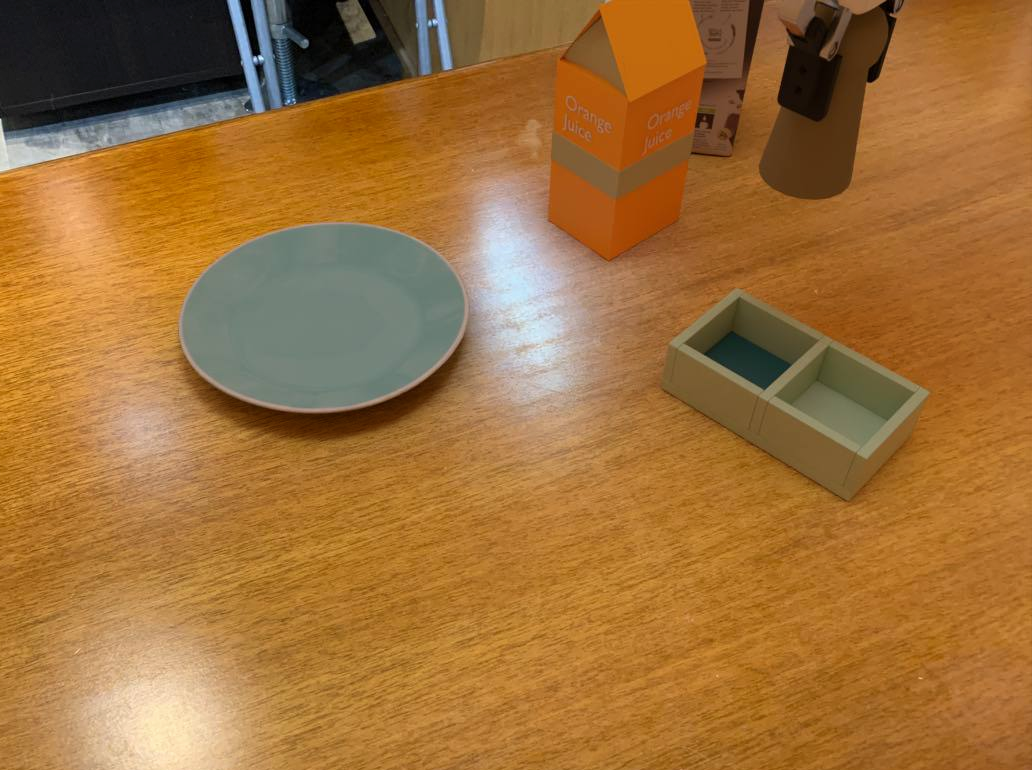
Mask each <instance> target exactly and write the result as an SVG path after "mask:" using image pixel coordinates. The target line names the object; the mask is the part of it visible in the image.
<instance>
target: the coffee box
mask: <svg viewBox="0 0 1032 770" xmlns="http://www.w3.org/2000/svg"><path fill="white" fill-rule="evenodd" d="M689 2H690V5H691V9H692V12H693V16H694V19H695V23H696V26H697V30H698V33H699V37H700V40H701V44H702V47H703V51H704V54H705V58H706V61H707V63H706V65H705V71H704V77H703V82H702V88H701V94H700V100H699V105H698V111H697V117H696V123H695V128H694V131H695V132H694V138H693V144H692V149H691V153H698V154H705V155H713V156H714V155H715V156H723V157H730V156H731V155H732V153H733V149H734V144H735V140H736V136H737V131H738V128H739V127H738V126H739V123H740V122H739V121H740V116H741V113H742V106H743V103H744V98H745V94H746V89H747V83H748V79H749V74H750V70H751V66H752V61H753V56H754V52H755V46H756V42H757V39H758V34H759V28H760V25H761V20H762V14H763V11H764V6H765V5H764V4H765V0H689Z"/></svg>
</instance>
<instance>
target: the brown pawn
mask: <svg viewBox="0 0 1032 770" xmlns="http://www.w3.org/2000/svg"><path fill="white" fill-rule="evenodd" d="M835 11H836V10H835V9H832V8H830V7H827V6H825V5H822V4H820V3H817V6H816V8H815V13H816V14H815V15H816V16H817V17H818V18H821V19H823V21H824V23H825V25H826V27H827V29H829V26H830V24H831V21H832V18H833V16H834V13H835ZM887 38H888V23H887V19H886V16H885V12H884V11H883V10H882V9H881V8H880V7H879V6H876V7H875V8H873V9H871V10H870V11H867V12H865V13H863V14H859V15H856V14H853V13H852V16H851V18H850V21H849V24H848V26H847V29H846V31H845V34H844V36H843V39H842V41H841V44H840V46H839V49H838V51H837V53H836V54H839V55H841V56H843V58H842V62H841V66H840V69H839V73H838V77H837V80H836V84H835V87H834V91H833V95H832V98H831V102H830V106H829V109H828V113H827V116H826V117H825V118H824V119H822V120H821V121H819V122H815V121H813V120H811V119H809V118H806V117H804V116H802V115H800V114H797V113H795V112H793V111H791V110H789V109H786V108H784V107H782V106H780V109H779V111H778V114H777V116H776V119H775V122H774V124H773V126H772V129H771V132H770V134H769V137H768V140H767V142H766V145H765V147H764V150H763V152H762V155H761V157H760V161H759V163H758V174H759V175H760V177H761V178H762V180H763V182H764V183H765V184H766V185H768V186H769V187H770V188H771V189H772V190H774V191H777V192H778V193H780V194H782V195H784V196H788V197H792V198H795V199H800V200H810V201H818V200H826V199H831V198H833V197H837V196H839V195H841V194H842V193H843V192H845V191H846V190H847V189H848V188H849V187H850V184H851V182H852V179H853V172H854V166H855V159H856V153H857V146H858V140H859V133H860V126H861V121H862V116H863V115H862V114H863V106H864V101H865V95H866V88H867V83H868V82H867V76H868V70H869V68H870V67H871V66H872V65H874V64H875V63H876V62H877V61H878V59H879V57H880V55H881V54H882V52H883V50H884V47H885V44H886V41H887Z"/></svg>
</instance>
